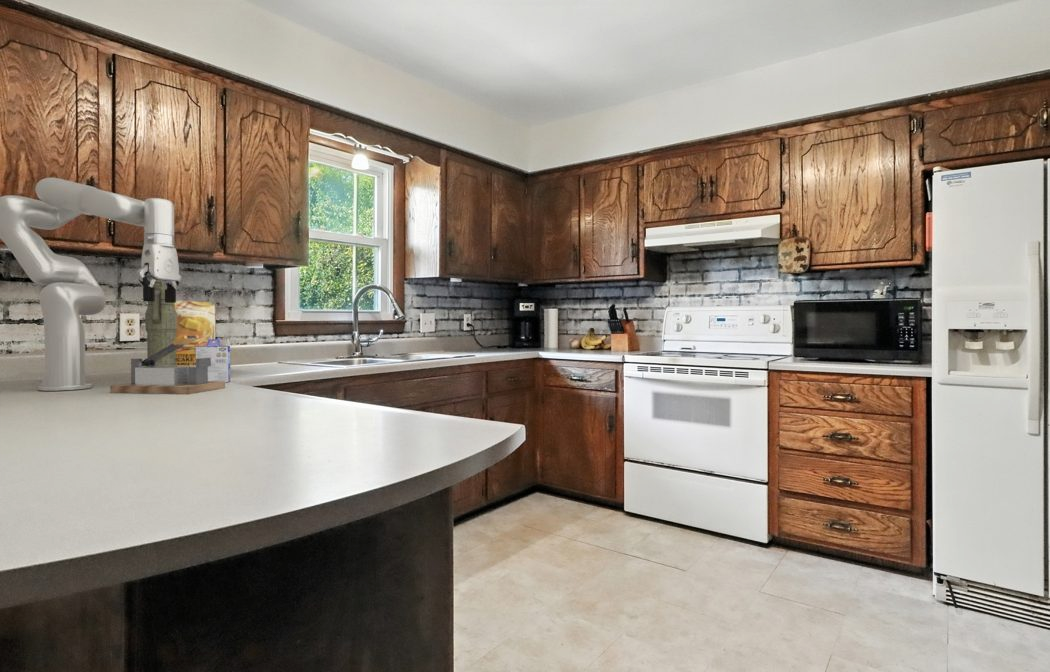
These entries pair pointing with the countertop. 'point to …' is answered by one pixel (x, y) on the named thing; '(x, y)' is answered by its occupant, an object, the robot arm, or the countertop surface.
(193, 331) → the pancake mix bag
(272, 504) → the countertop surface
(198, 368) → the lug
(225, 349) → the ink cartridge box
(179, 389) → the wooden board
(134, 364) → the hinge bracket
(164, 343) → the green stone totem
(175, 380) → the heat sink
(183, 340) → the retention strap
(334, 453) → the countertop surface
